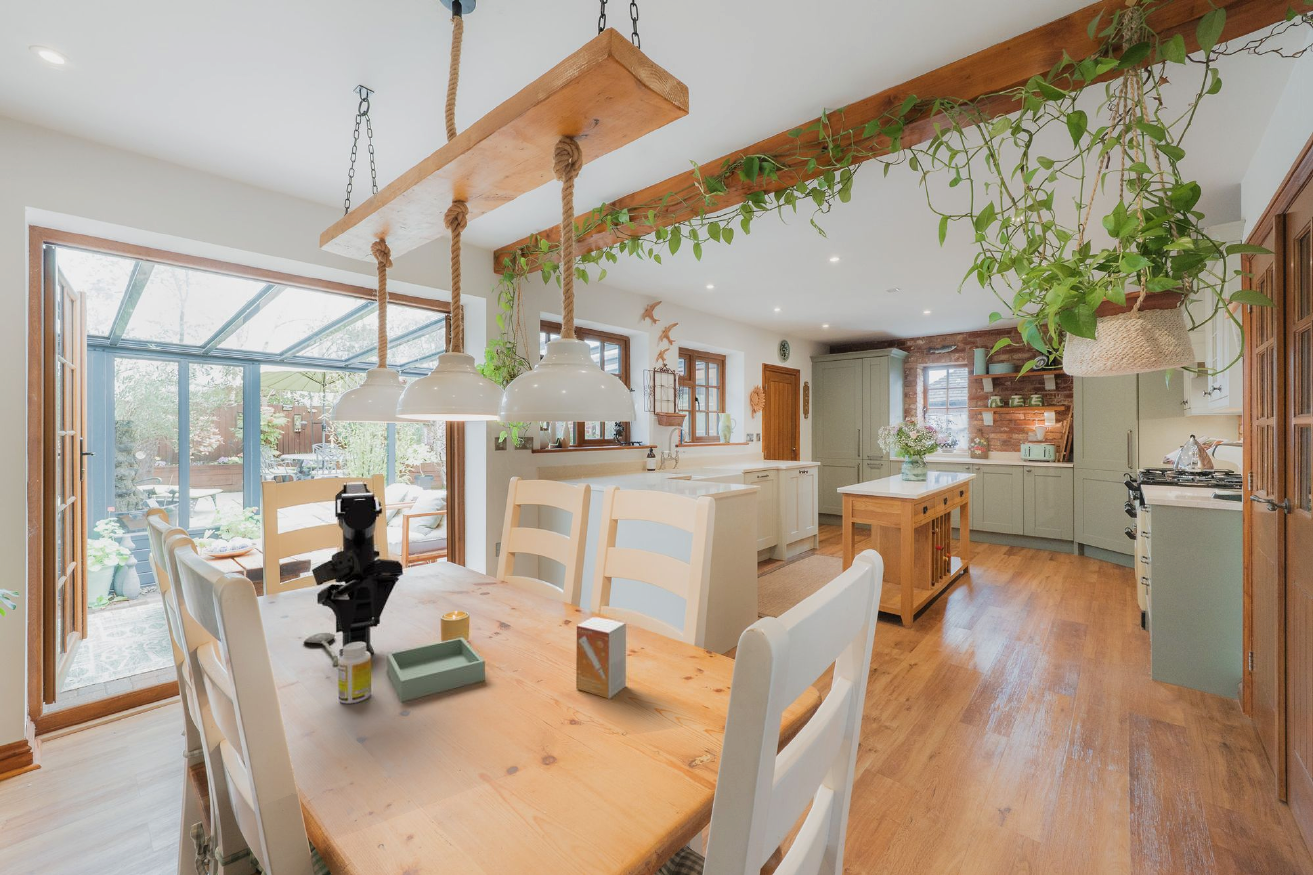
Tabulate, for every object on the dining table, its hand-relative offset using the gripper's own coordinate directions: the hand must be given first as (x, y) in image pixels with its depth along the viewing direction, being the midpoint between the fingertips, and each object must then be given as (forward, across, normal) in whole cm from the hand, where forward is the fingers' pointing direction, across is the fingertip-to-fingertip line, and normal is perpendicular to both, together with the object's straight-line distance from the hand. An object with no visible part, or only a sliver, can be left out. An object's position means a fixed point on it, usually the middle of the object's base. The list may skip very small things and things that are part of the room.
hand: (360, 625), depth 106 cm
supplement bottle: (+12, -7, +4) cm, 14 cm away
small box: (+22, +31, +30) cm, 48 cm away
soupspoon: (-3, -32, +13) cm, 34 cm away
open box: (+10, -1, +17) cm, 20 cm away
